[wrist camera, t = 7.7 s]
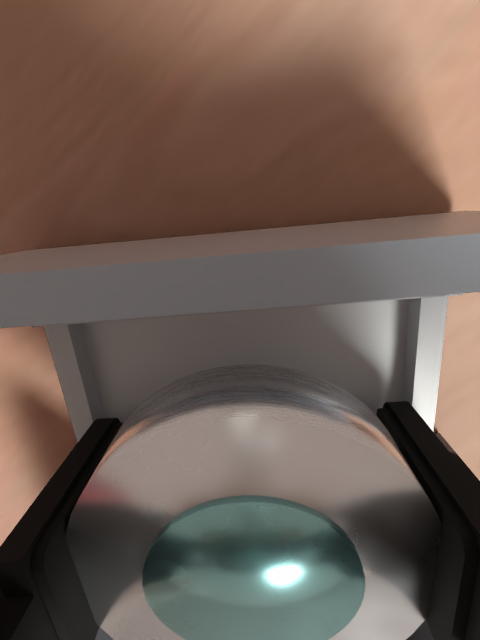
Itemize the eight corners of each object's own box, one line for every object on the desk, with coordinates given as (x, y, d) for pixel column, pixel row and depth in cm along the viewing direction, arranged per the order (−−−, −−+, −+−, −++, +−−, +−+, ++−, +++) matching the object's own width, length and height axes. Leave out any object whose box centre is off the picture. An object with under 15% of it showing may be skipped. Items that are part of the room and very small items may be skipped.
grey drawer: (25, 250, 10) (-200, 291, 5) (464, 211, 9) (715, 213, 4) (103, 522, 13) (15, 708, 8) (429, 510, 12) (545, 706, 8)
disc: (71, 376, 7) (5, 441, 5) (415, 352, 7) (482, 413, 5) (136, 599, 9) (107, 700, 7) (393, 592, 9) (433, 697, 7)
